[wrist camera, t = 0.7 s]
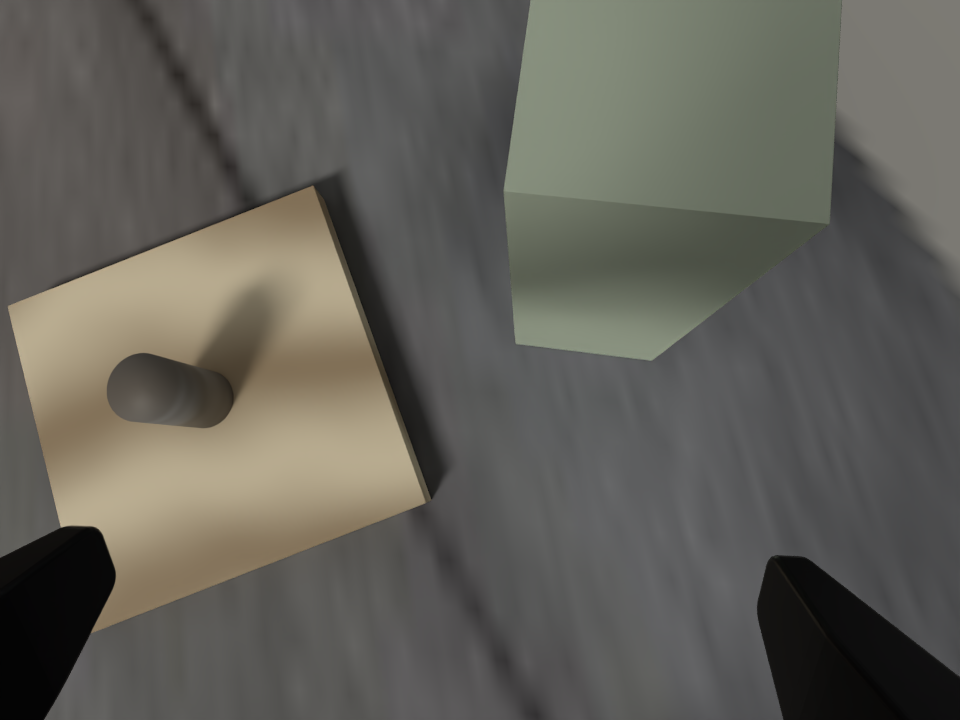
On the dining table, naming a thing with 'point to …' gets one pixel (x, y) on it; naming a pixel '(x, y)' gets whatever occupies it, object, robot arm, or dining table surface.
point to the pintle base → (274, 432)
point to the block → (663, 162)
